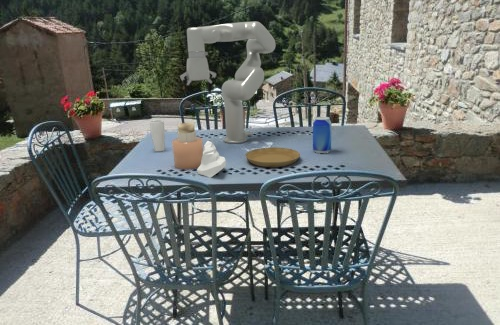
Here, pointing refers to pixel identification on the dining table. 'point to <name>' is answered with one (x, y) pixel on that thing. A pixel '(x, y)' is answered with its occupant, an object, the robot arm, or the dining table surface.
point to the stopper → (186, 127)
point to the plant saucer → (272, 156)
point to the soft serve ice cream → (211, 161)
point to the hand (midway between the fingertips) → (199, 92)
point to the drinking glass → (158, 134)
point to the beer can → (322, 135)
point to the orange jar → (187, 150)
